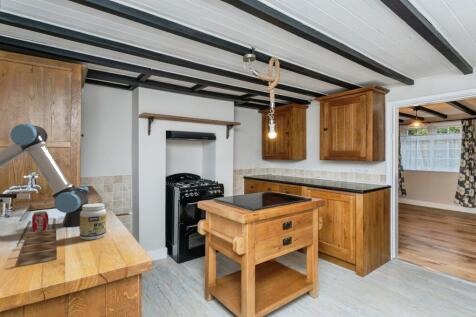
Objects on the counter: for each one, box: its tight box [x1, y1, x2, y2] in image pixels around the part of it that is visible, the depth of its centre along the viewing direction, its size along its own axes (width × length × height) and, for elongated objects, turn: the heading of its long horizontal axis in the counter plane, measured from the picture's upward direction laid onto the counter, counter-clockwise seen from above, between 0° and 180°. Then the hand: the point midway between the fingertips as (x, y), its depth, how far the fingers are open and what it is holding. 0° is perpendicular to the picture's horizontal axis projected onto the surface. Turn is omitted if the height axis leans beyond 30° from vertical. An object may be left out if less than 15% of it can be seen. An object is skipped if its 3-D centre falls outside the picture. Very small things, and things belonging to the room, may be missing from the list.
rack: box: [18, 228, 58, 267], centre depth 118 cm, size 12×34×4 cm, turn 35°
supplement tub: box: [79, 202, 107, 241], centre depth 137 cm, size 12×12×17 cm
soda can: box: [31, 210, 49, 232], centre depth 139 cm, size 7×7×12 cm
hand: (20, 198), depth 138 cm, fingers open, 13 cm apart
